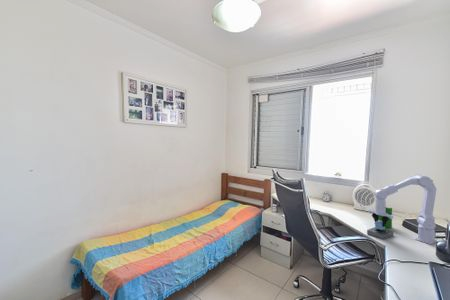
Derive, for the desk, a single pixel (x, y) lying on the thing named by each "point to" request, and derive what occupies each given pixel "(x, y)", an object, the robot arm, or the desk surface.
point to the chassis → (380, 233)
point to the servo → (379, 225)
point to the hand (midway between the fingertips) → (380, 225)
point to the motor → (389, 222)
